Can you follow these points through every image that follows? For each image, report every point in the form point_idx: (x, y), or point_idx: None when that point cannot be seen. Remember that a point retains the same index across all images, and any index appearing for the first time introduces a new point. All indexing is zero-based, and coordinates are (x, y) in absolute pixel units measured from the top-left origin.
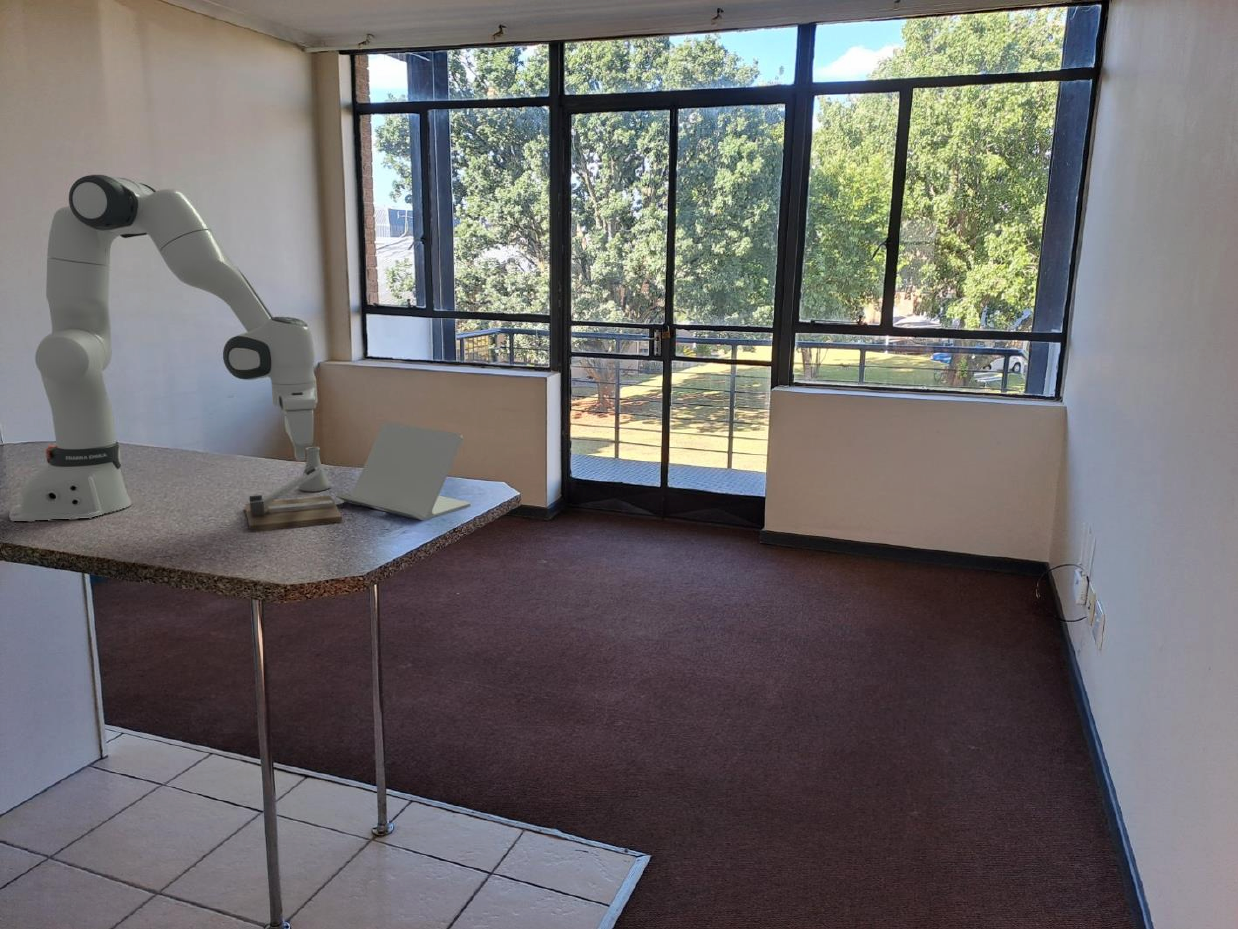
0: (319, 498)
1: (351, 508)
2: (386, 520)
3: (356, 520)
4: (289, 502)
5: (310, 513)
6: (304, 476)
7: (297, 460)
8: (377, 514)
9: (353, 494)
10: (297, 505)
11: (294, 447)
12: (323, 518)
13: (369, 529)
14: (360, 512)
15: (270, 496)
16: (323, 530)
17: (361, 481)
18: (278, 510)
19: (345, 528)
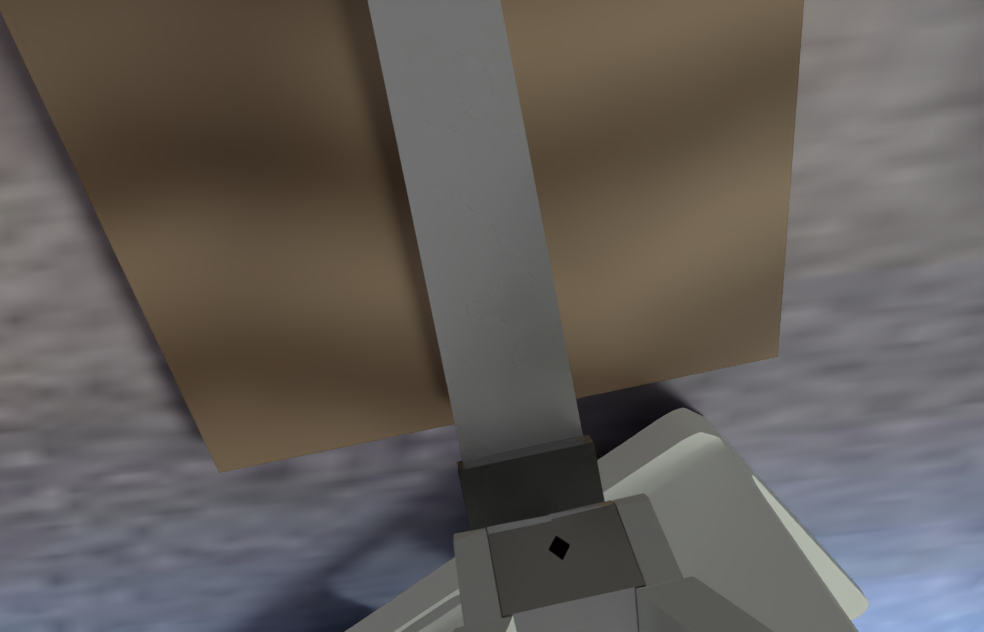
0: (734, 298)
1: None
2: (240, 623)
3: (254, 506)
4: (702, 95)
5: (316, 287)
6: (473, 426)
7: (457, 538)
8: (370, 578)
9: (722, 480)
10: None
11: (686, 629)
12: (176, 379)
13: (55, 579)
14: (431, 506)
15: (393, 8)
16: (17, 370)
17: (766, 578)
18: None
19: (72, 476)
